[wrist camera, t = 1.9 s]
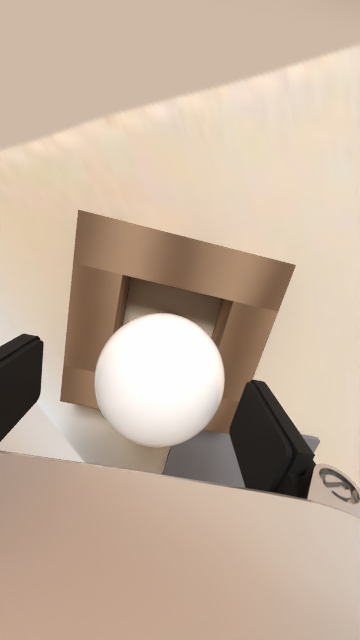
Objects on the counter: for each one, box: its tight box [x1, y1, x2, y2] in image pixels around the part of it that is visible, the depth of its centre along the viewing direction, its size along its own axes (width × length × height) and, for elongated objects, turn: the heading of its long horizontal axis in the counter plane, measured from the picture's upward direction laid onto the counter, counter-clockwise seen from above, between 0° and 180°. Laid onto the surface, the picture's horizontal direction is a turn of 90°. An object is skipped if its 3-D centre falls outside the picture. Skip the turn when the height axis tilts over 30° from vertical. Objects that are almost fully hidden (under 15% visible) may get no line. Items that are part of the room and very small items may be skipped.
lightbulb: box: [94, 313, 225, 448], centre depth 14 cm, size 6×6×11 cm
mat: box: [163, 429, 320, 488], centre depth 23 cm, size 14×12×1 cm
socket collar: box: [60, 210, 296, 434], centre depth 17 cm, size 14×14×3 cm
